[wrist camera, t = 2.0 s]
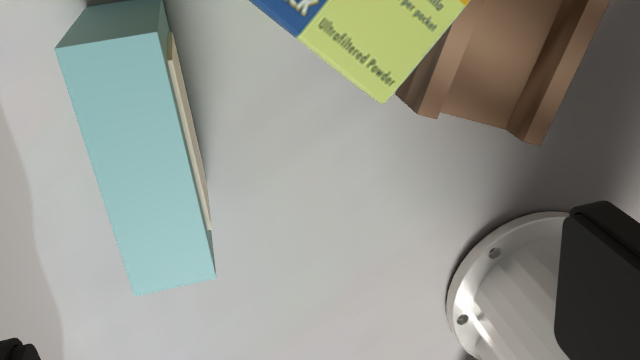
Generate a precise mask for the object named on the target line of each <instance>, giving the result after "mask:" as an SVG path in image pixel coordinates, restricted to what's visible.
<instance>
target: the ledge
mask: <svg viewBox="0 0 640 360" xmlns="http://www.w3.org/2000/svg"><path fill="white" fill-rule="evenodd" d="M609 1H610V0H471V1H470V2H469V3H468V4H467V6H466V7H465V8H464V9H463V11H462V12H461V13H460V14H459V16H458V17H457V18H456V19H455V20H454V22H453V23H452V24H451V25H450V27H449V28H448V29H447V30H446V31H445V33H444V34H443V35H442V36H441V38H440V39H439V40H438V41H437V42H436V44H435V45H434V46H433V47H432V48H431V50H430V51H429V52H428V53H427V54H426V55H425V57H424V58H423V59H422V60H421V62H420V63H419V64H418V65H417V67H416V68H415V69H414V70H413V71H412V73H411V74H410V75H409V76H408V77H407V78H406V80H405V81H404V82H403V83H402V84H401V85H400V87H399V88H398V89H397V91H396V94H395V95H396V96H398V97H399V98H400V99H401V100H402V101H403V102H404V103H405V104H407V105H408V106H409V107H410V108H411V109H412V110H413V111H414V112H415V113H417V114H419V115H423V116H426V117H430V118H434V119H437V118H438V116H439V113H440V112H442V113H446V114H450V115H453V116H457V117H461V118H465V119H468V120H472V121H476V122H480V123H484V124H487V125H491V126H495V127H499V128H502V129H506V130H507V131H509V132H510V133H511V134H513V135H514V136H516V137H517V138H519V139H520V140H521V141H523V142H526V143H530V144H534V145H538V146H541V144H542V141H543V139H544V137H545V135H546V133H547V131H548V129H549V127H550V125H551V123H552V121H553V118H554V116H555V114H556V112H557V110H558V108H559V106H560V104H561V102H562V100H563V98H564V95H565V93H566V91H567V89H568V87H569V85H570V83H571V81H572V79H573V77H574V75H575V72H576V70H577V68H578V66H579V64H580V62H581V60H582V58H583V56H584V54H585V52H586V49H587V47H588V45H589V43H590V41H591V39H592V37H593V35H594V33H595V31H596V29H597V26H598V24H599V22H600V20H601V18H602V16H603V14H604V12H605V10H606V8H607V6H608V3H609Z"/></svg>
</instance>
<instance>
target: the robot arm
mask: <svg viewBox="0 0 640 360" xmlns="http://www.w3.org/2000/svg"><path fill="white" fill-rule="evenodd" d="M446 310H447V319H448V322H449V326H450V329H451V331H452V332H453V334H454V336H455V337H456V339H457V341H458V342H459V344H460V345H461V346H462V347H463V348H464V349H465V351H466V352H468V353H469V354H471V355H472V356H473V357H475V358H476V359H479V360H640V223H639V222H637V221H636V220H634V219H633V218H631V217H630V216H629V215H627V214H626V213H624V212H623V211H621V210H620V209H619V208H617V207H616V206H614V205H613V204H612V203H610V202H608V201H598V202H594V203H590V204H585V205H581V206H577V207H574V208H573V209H572V210H571V212H570V214H569V213H566V212H554V211H547V212H540V213H533V214H529V215H526V216H523V217H520V218H516V219H514V220H512V221H510V222H508V223H506V224H504V225H502V226H500V227H499V228H497V229H496V230H494V231H493V232H491V233H490V234H489V235H487V236H486V237H485V238H483V239H482V240H481V241H480V242H479V243H478V244H477V245H476V246H475V247H474V248H473V249H472V250H471V251H470V252H469V254H468V255H467V256H466V257H465V259H464V260H463V261H462V262H461V264H460V266H459V268H458V269H457V271H456V273H455V275H454V277H453V279H452V282H451V285H450V288H449V290H448V296H447V303H446ZM0 360H41V359H40V357H39V355H38V352H37V350H36V348H35V347H34V346H33V345H32V344H26V345H23V344H22V342H21V341H20V340H19V339H18V338H11V339H8V340H3V341H0Z"/></svg>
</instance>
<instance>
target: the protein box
mask: <svg viewBox="0 0 640 360" xmlns="http://www.w3.org/2000/svg"><path fill="white" fill-rule="evenodd" d="M249 1H250V2H251V3H253V4H254V5H255V6H256V7H258V8H259V9H260V10H261V11H263V12H264V13H265V14H266V15H268V16H269V17H270V18H271V19H273V20H274V21H275V22H276V23H278V24H279V25H280V26H281V27H283V28H284V29H285V30H286V31H288V32H289V33H290V34H291V35H293V36H294V37H295V38H296V39H298V40H299V41H300V42H301V43H303V44H304V45H305V46H306V47H308V48H309V49H310V50H311V51H313V52H314V53H315V54H316V55H318V56H319V57H320V58H321V59H323V60H324V61H325V62H326V63H328V64H329V65H330V66H331V67H332V68H334V69H335V70H336V71H337V72H339V73H340V74H341V75H343V76H344V77H345V78H346V79H348V80H349V81H350V82H352V83H353V84H354V85H355V86H357V87H358V88H359V89H361V90H362V91H363V92H365V93H366V94H368V95H369V96H370V97H372V98H373V99H374V100H376V101H377V102H379V103H385V102H386V101H387V100H388V99H389V98H390V97H391V96H392V95H393V94H394V93H395V91H396V90H397V89H398V88H399V87H400V85H401V84H402V83H403V82H404V81H405V80H406V78H407V77H408V76H409V75H410V74H411V73H412V71H413V70H414V69H415V68H416V67H417V65H418V64H419V63H420V62H421V60H422V59H423V58H424V57H425V55H426V54H427V53H428V52H429V51H430V50H431V48H432V47H433V46H434V45H435V44H436V42H437V41H438V40H439V39H440V38H441V36H442V35H443V34H444V33H445V31H446V30H447V29H448V28H449V27H450V25H451V24H452V23H453V22H454V20H455V19H456V18H457V17H458V16H459V14H460V13H461V12H462V11H463V9H464V8H465V7H466V6H467V4H468V3H469V2H470V1H471V0H249Z"/></svg>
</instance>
